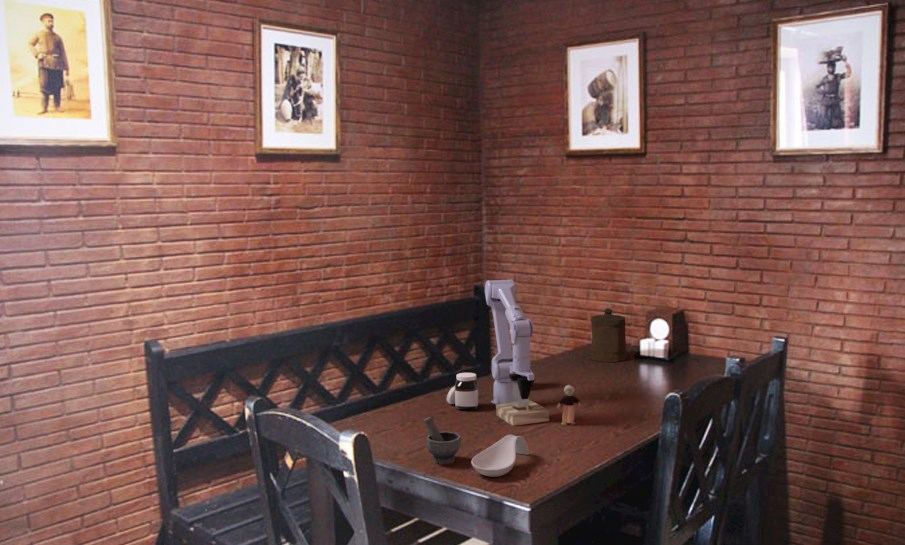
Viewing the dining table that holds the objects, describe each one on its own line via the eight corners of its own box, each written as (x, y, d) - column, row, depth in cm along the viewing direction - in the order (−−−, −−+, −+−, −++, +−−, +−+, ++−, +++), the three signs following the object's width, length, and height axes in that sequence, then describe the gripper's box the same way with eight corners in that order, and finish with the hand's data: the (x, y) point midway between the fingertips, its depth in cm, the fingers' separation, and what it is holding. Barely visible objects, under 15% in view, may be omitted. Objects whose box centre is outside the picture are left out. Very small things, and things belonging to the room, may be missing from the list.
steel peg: (512, 404, 266) (512, 381, 265) (523, 402, 268) (523, 379, 267) (518, 407, 263) (517, 383, 262) (529, 405, 264) (528, 382, 263)
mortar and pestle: (467, 458, 228) (466, 417, 227) (449, 468, 220) (448, 426, 219) (434, 452, 234) (433, 411, 233) (416, 461, 226) (414, 420, 225)
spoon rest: (503, 484, 209) (503, 458, 208) (463, 477, 214) (463, 451, 214) (540, 456, 229) (539, 432, 228) (502, 450, 235) (502, 426, 234)
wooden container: (606, 353, 361) (605, 304, 358) (632, 358, 349) (632, 308, 347) (583, 358, 351) (583, 308, 349) (610, 364, 340) (610, 312, 338)
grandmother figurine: (560, 426, 256) (560, 387, 254) (556, 423, 259) (555, 384, 258) (583, 424, 258) (583, 385, 256) (578, 420, 261) (577, 382, 260)
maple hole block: (496, 415, 270) (496, 405, 269) (531, 410, 274) (531, 400, 274) (512, 425, 257) (512, 415, 257) (549, 420, 262) (549, 410, 262)
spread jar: (475, 412, 274) (474, 378, 273) (442, 411, 276) (442, 377, 275) (481, 402, 286) (480, 370, 284) (450, 401, 288) (449, 369, 286)
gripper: (501, 353, 269) (501, 393, 270) (520, 362, 255) (520, 404, 257) (520, 351, 271) (520, 390, 273) (539, 359, 258) (540, 401, 259)
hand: (522, 397), depth 265 cm, fingers closed on steel peg, 4 cm apart
